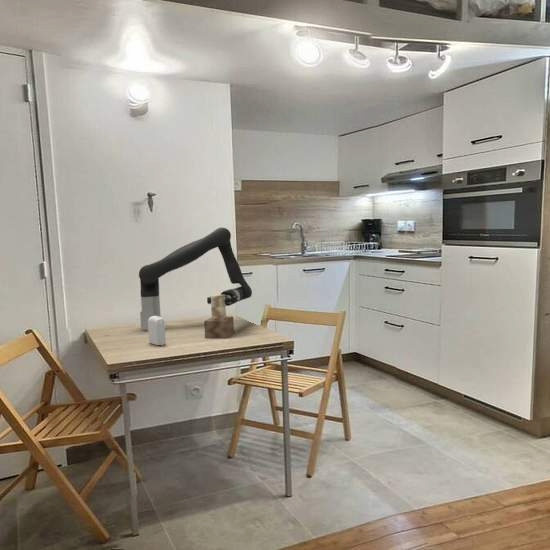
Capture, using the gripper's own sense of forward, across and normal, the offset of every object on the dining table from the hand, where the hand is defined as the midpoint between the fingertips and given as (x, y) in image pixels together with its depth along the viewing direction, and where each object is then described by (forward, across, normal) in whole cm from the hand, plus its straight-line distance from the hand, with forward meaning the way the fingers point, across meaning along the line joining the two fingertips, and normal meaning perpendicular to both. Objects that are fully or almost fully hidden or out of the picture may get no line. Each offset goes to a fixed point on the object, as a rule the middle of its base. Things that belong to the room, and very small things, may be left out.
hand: (216, 301), depth 215 cm
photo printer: (+19, -21, +16) cm, 32 cm away
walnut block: (-1, 0, +16) cm, 16 cm away
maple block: (-1, 0, +8) cm, 8 cm away
